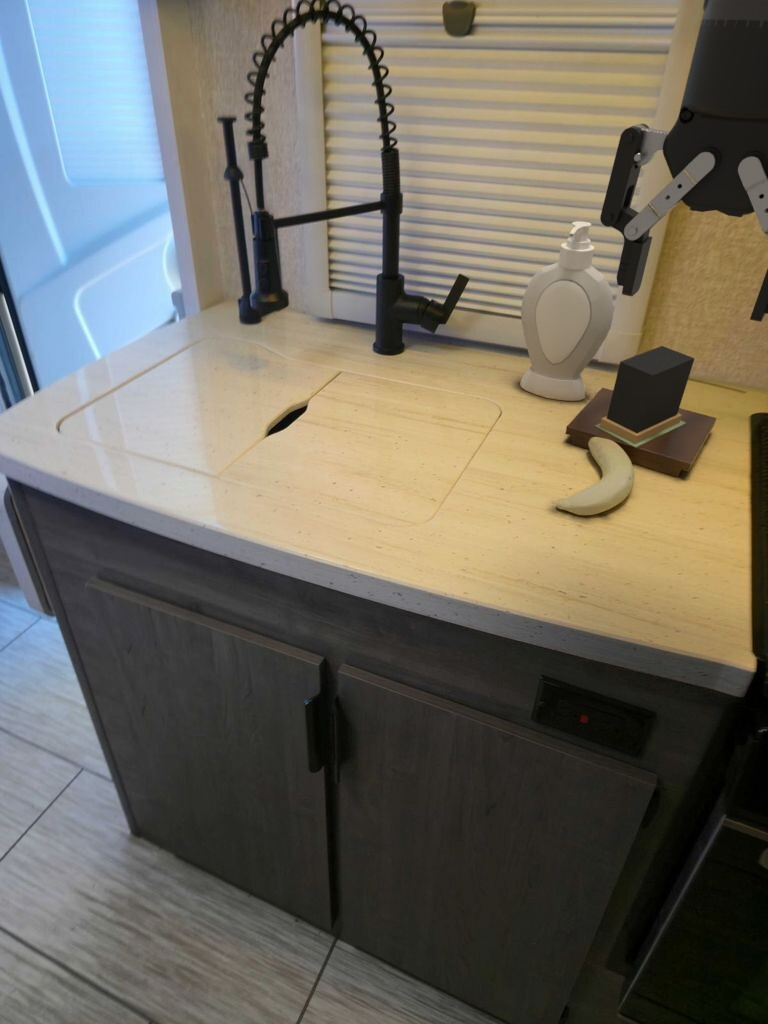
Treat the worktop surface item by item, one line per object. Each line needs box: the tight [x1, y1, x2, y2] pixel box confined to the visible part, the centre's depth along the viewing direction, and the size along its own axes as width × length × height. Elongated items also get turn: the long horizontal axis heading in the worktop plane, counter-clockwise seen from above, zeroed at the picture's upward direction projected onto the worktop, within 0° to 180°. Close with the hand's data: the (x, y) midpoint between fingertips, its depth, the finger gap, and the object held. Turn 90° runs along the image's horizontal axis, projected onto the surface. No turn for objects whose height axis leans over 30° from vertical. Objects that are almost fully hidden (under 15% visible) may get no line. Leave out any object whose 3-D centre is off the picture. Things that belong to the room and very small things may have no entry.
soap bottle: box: [519, 220, 614, 402], centre depth 93 cm, size 13×8×24 cm, turn 63°
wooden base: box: [564, 387, 717, 478], centre depth 90 cm, size 16×14×3 cm
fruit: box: [556, 437, 635, 516], centre depth 80 cm, size 7×15×3 cm, turn 152°
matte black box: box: [600, 345, 695, 444], centre depth 86 cm, size 10×6×9 cm, turn 126°
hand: (691, 304), depth 46 cm, fingers open, 8 cm apart
